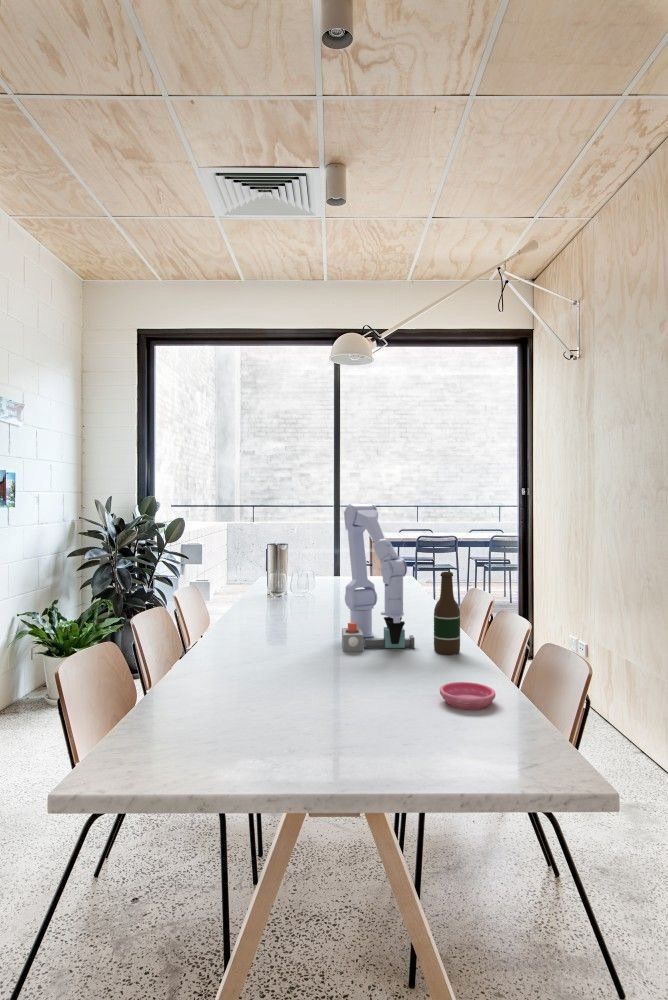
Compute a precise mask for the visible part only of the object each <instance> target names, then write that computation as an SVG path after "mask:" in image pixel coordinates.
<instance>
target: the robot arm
mask: <svg viewBox="0 0 668 1000" xmlns="http://www.w3.org/2000/svg"><path fill="white" fill-rule="evenodd" d="M343 517H344V525H345V526H344V529H346V530H347V538H348V549H349V558H350V561H349V562H350V569H351V570H350V571H351V580H350V582H349V583H347V584H346V586H345V594H344V602H345V606H346V607H347V608H348V609H349V610H350V616H349V617H350V619H349V620H350V621H349V623H351V622H354V623H357V628H361V630H362V633H363V638H374V637H375V635H374V633H373V617H372V616H373V614H372V613H373V609H374V607H375V606H376V605H377V602H378V594H377V592H376V588H375V583H373V582H372V581H371V580H369V579H368V570H367V560H366V551H365V550H366V549H365V538H364V532H365V530H366V531H367V532H368V534H369V536H370V538H371V540H372V541H373V542H374V546H373V550H374V552H375V555H376V557H377V558H378V561H379V563H380V564H381V566H380V573H381V576H382V583H383V584H384V611H380V615H381V616H384V617H383V619H384V623H385V625H386V627H388V628H389V632H390V638H391V643H392V644H399V640H400V635H401V631H402V628H404V626H405V624H406V623H405V621H403V620H402V619H403V616H405V613H404V578H405V576H406V574H407V573H408V567H407V565H408V564H407V562H406V560H405V559H404V558H402V557H401V556H399V555H398V554H397V553H396V550H395V548H394V547H393V544H392V542H391V541H390V540H388V539H386V538H385V536H384V533H383V530H382V528H381V526H380V522H379V521H378V519H379V511H378V509H377V506H376V505H375V504H374V503H368V504H367V503H366V504H365V503H364V504H357V503H356V504H352V503H350V504H348V505H346V507H345V509H344V511H343ZM359 588H360V589H359Z"/></svg>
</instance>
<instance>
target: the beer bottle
mask: <svg viewBox="0 0 668 1000" xmlns="http://www.w3.org/2000/svg"><path fill="white" fill-rule="evenodd" d="M440 576H441V577H440V578H441V579H440V580H441V581H440V595H439V598H438V600H437V602H436V604H435V606H434V610H433V651H434V652H435V653H436V654H438V655H445V656H452V655H453V656H454V654H455V655H459V653H460V652H461V613H460V612H461V610H460V606H459V604H458V602H457V601H456V600H455V596H454V585H453V584H454V583H453V577H454V573H453V572H452V571H442V572H440Z"/></svg>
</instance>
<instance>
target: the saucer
mask: <svg viewBox="0 0 668 1000" xmlns="http://www.w3.org/2000/svg"><path fill="white" fill-rule="evenodd" d="M439 694H440V696H441V697H442V699H444V700H445V702H446V704H447V705H449V706H451V707H454V708H456V709H462V710H480V709H485V708H487V707H488V706H489V705H490V704H491V703H492V702H493V701H494V700H495V699H496V691H495V690H494V689H493V688H492V687H490V686H488V685H485V684H482V683H477V682H469V681H468V682H467V681H456V682H448V683H444V684H443V685H441V686H440V688H439Z"/></svg>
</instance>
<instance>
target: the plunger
mask: <svg viewBox="0 0 668 1000" xmlns="http://www.w3.org/2000/svg"><path fill="white" fill-rule="evenodd" d="M347 628H348V633H357V623H354V622H351V623H350V622H347Z"/></svg>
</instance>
